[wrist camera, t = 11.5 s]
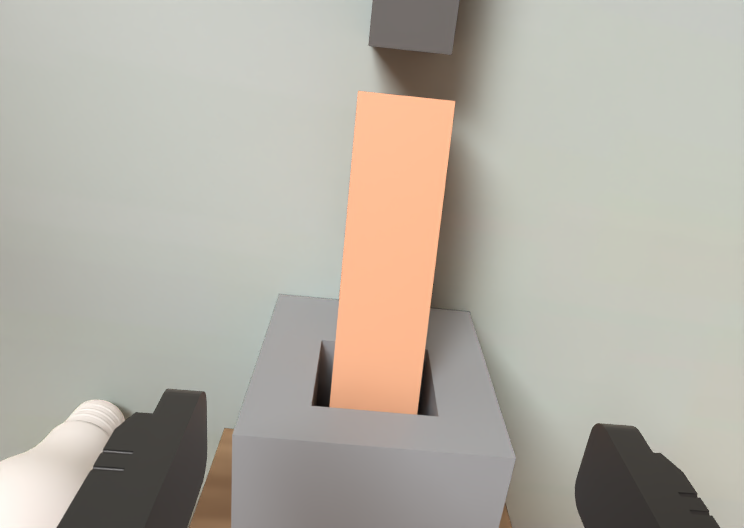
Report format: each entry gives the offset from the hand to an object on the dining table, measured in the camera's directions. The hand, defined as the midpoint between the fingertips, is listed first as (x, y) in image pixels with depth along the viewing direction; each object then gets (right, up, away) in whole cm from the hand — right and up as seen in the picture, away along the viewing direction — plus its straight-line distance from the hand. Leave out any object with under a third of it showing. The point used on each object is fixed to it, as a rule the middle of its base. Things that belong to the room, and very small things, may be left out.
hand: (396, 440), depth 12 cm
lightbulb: (-14, -4, +18) cm, 23 cm away
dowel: (0, +2, +12) cm, 12 cm away
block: (-1, -2, +17) cm, 17 cm away
